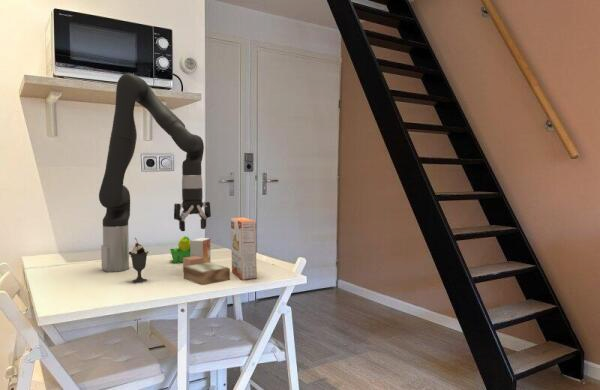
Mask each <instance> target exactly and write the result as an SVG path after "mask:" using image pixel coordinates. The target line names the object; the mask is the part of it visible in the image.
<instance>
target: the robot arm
mask: <svg viewBox="0 0 600 390" xmlns="http://www.w3.org/2000/svg"><path fill="white" fill-rule="evenodd" d="M115 90H116V93H115V107H114V116H113V121H112V127H111V132H110V138H109V145H108V152H107V158H106V164H105V171H104V174H103V178H102V181H101V184H100V185H101V186H100V188H99V193H98V200H99V202H100V204H101V206H102V207H104V208H105V209H106V212H105V215H104V217H103V218H102V245H100V246H101V247H100V250H101V252H100V253H101V255H100V256H101V259H100V260H101V270H102V271H104V272H106V273H109V272H112V273H113V272H121V271H126V270H129V269H130V255H129V252H130V249H129V246H130V245H129V244H130V243H129V219H130V216H131V194H130V191H129V189H128V188H127V186H125V185H124V180H125V174H126V171H127V169H128V167H129V165H130V163H131V161H132V159H133V157H134V154H135V149H136V144H137V139H138V137H137V136H138V135H137V134H138V133H137V127H136V122H135V115H134V111H135V106H136V103H138V104H139V105H140V106H142V107H143V108H144V109H146V110H147V112H148V113H150V115H151V116H152V118H153V119H154V121H155V122H156V123H157V125H158V126H160V128H161V129H162V130H163V131H165V132H166V134H168V136H170V138H171V139H172V141H173V142H174V143H175V144H176V146H177V147H178V148H179V150H182V151H183V152H185V153H186V155H185V159H184V160H183V161H182V166H181V168H182V169H181V170H182V172H181V174H182V177H181V200H182V202H181V203H174V205H173V219H174V220H175V221H178V226H179V230H180V231H181V232H185V231H186V218H187V217H189V215H194V214H195V215H198V217H200V229H202V230H205V229H206V227H207V219H208V218H211V216H212V213H211V212H212V211H211V202H209V201H203V198H204V196H203V178H202V161H203V157H204V151H205V150H204V149H205V146H204V141H203V138H202V137H201V136H200V135H198V134H193V133H191V132H190V131H189V130H188V129H187V128H186V125H185V123H184V122H183V121H182V120H181V119H180V118H179V117H178V116H177V115H176V114H175V113H173V111H171V110H170V109H169V108H168V107H167V105H165V104H164V103H163V102H162V101H161V100H160V99H159V97H158V96H157V95H156V94H155V92H154V91H153V90H152V88H151V87H150V86H149V84H148V83H147V82H146V81H145V80H144V79H143V78H142V77H139V76H137V75H135V74H133V73H129V72H128V73H123V74H122V75H121V76H120V77H119V79H118V80H117V83H116V89H115ZM202 208H204V210H203V209H202ZM181 209H183V210H182V211H181Z"/></svg>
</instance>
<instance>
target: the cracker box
mask: <svg viewBox="0 0 600 390" xmlns="http://www.w3.org/2000/svg"><path fill="white" fill-rule="evenodd" d="M230 233H231V234H230V236H231V237H230V238H231V239H230V240H231V242H230V243H231V248H230V249H231V272H232V273H233V274H235V276H237V278H239V279H240V280H241V281H247V280H253V279H254V280H256V279H257V268H258V267H257V221H256V220H252V219H250V218H247V217H242V216H241V217H240V216H239V217H230Z"/></svg>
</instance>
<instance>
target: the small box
mask: <svg viewBox="0 0 600 390" xmlns="http://www.w3.org/2000/svg"><path fill="white" fill-rule="evenodd" d="M192 256H198V257H202V258H203V263H209V262H210V263H211V238H209V237H197V238H194V239H193V240H190V257H192Z"/></svg>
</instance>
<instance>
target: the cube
mask: <svg viewBox="0 0 600 390" xmlns="http://www.w3.org/2000/svg"><path fill="white" fill-rule="evenodd" d="M202 263H203V258H202V257H198V256H192V257H185V258H183V263H182V271H183V273H184V267H185V266H190V265H196V264H202Z"/></svg>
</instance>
